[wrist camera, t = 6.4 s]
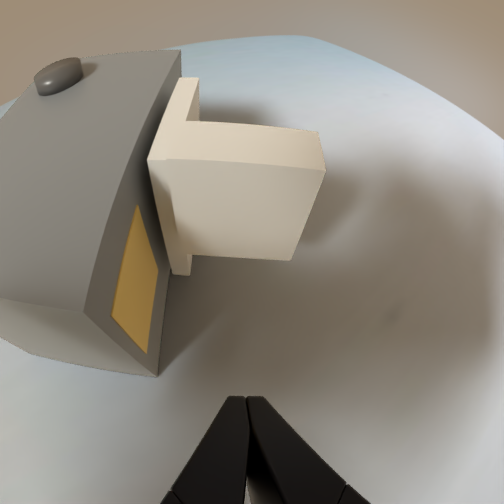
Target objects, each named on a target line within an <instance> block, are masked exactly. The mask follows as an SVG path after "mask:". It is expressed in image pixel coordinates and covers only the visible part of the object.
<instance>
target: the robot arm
mask: <svg viewBox="0 0 504 504" xmlns="http://www.w3.org/2000/svg"><path fill="white" fill-rule="evenodd" d="M246 480H247V486H248V491H249V496H250V501H251V504H371V503H369V502H368V501H367V500H366V499H365V498H363V497H362V496H361V495H360V494H359V493H358V492H357V491H356V490H354V489H353V488H352V487H351V486H350V485H349V484H347V485H346V481H345V480H344V479H343V478H341V477H340V476H339V475H338V474H337V473H336V472H335V471H334V470H333V469H332V468H331V467H330V466H329V465H328V464H327V463H326V462H325V461H324V460H323V459H322V458H321V457H320V456H319V455H318V454H317V453H316V452H315V451H314V450H313V449H312V448H311V447H310V446H309V445H308V444H307V443H306V442H305V441H304V440H303V439H302V438H301V437H300V436H299V435H298V434H297V432H296V431H295V430H294V429H293V428H292V427H291V426H290V425H289V424H288V423H287V422H286V421H285V420H284V419H283V418H282V416H281V415H280V414H279V413H278V412H277V411H276V410H275V409H274V408H273V407H272V405H271V404H270V403H269V402H268V401H267V400H266V399H265V398H264V397H263V396H248V397H246V398H245V397H244V396H228V397H227V399H226V400H225V402H224V404H223V405H222V407H221V409H220V410H219V412H218V414H217V415H216V417H215V419H214V420H213V422H212V424H211V425H210V427H209V429H208V430H207V432H206V434H205V435H204V437H203V438H202V440H201V442H200V443H199V445H198V446H197V448H196V450H195V451H194V453H193V454H192V456H191V458H190V459H189V461H188V462H187V464H186V465H185V467H184V468H183V470H182V472H181V473H180V475H179V476H178V478H177V479H176V481H175V482H174V484H173V485H172V487H171V491H168V493H167V494H166V496H165V497H164V499H163V500H162V502H161V503H160V504H244V499H245V489H246Z"/></svg>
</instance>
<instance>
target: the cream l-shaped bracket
mask: <svg viewBox="0 0 504 504" xmlns="http://www.w3.org/2000/svg"><path fill="white" fill-rule="evenodd" d="M147 163H148V168H149V173H150V178H151V183H152V188H153V193H154V198H155V202H156V207H157V211H158V216H159V220H160V225H161V229H162V233H163V237H164V242H165V246H166V250H167V254H168V258H169V262H170V266H171V269H172V273H173V275H186V276H190V271H191V263H192V255H203V256H219V257H235V258H251V259H268V260H284V261H291V259H292V256H293V254H294V251H295V249H296V247H297V244H298V242H299V239H300V237H301V234H302V232H303V229H304V227H305V224H306V222H307V219H308V217H309V214H310V212H311V209H312V207H313V204H314V201H315V199H316V196H317V194H318V191H319V189H320V186H321V183H322V181H323V178H324V176H325V173H326V167H325V162H324V158H323V153H322V148H321V144H320V139H319V135H318V132H314V131H307V130H299V129H291V128H282V127H273V126H263V125H252V124H240V123H225V122H205V121H199V78H179V79H178V82H177V84H176V86H175V89H174V91H173V93H172V96H171V98H170V100H169V103H168V105H167V108H166V110H165V113H164V115H163V118H162V120H161V123H160V125H159V128H158V131H157V133H156V136H155V139H154V141H153V144H152V147H151V150H150V153H149V155H148V158H147Z"/></svg>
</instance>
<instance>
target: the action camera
mask: <svg viewBox="0 0 504 504" xmlns="http://www.w3.org/2000/svg"><path fill="white" fill-rule="evenodd" d="M179 78H182V75H181V50H155V51H139V52H127V53H116V54H108V55H100V56H94V57H86V58H80V59H79V58H67V59H63V60H60V61H57V62H55V63H52V64H50V65H48V66H47V67H45V68H43V69H42V70H41V71H39V72H38V73H37V74H36V76H35V77H34V82H33V83H32V84H31V85H30V86H29V87H28V88H27V89H26V90H25V91H24V92H23V94H22V95H21V96H20V97H19V98H18V99H17V100H16V101H15V103H14V104H13V105H12V106H11V107H10V109H9V110H8V111H7V112H6V113H5V115H4V116H3V117H2V118H1V120H0V337H1V338H2V339H4V340H6V341H8V342H9V343H11V344H13V345H15V346H16V347H18V348H20V349H22V350H24V351H26V352H28V353H30V354H33V355H37V356H41V357H45V358H49V359H53V360H58V361H62V362H67V363H72V364H76V365H81V366H87V367H92V368H97V369H103V370H109V371H115V372H121V373H128V374H135V375H142V376H150V377H157V376H158V365H159V354H160V345H161V335H162V327H163V318H164V310H165V303H166V295H167V288H168V281H169V274H170V267H171V266H170V262H169V258H168V254H167V250H166V246H165V242H164V237H163V233H162V229H161V225H160V220H159V216H158V211H157V207H156V202H155V198H154V193H153V188H152V183H151V178H150V173H149V168H148V163H147V158H148V155H149V153H150V150H151V147H152V144H153V141H154V139H155V136H156V133H157V131H158V128H159V125H160V123H161V120H162V118H163V115H164V113H165V110H166V108H167V105H168V103H169V100H170V98H171V96H172V93H173V91H174V89H175V86H176V84H177V82H178V79H179Z"/></svg>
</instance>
